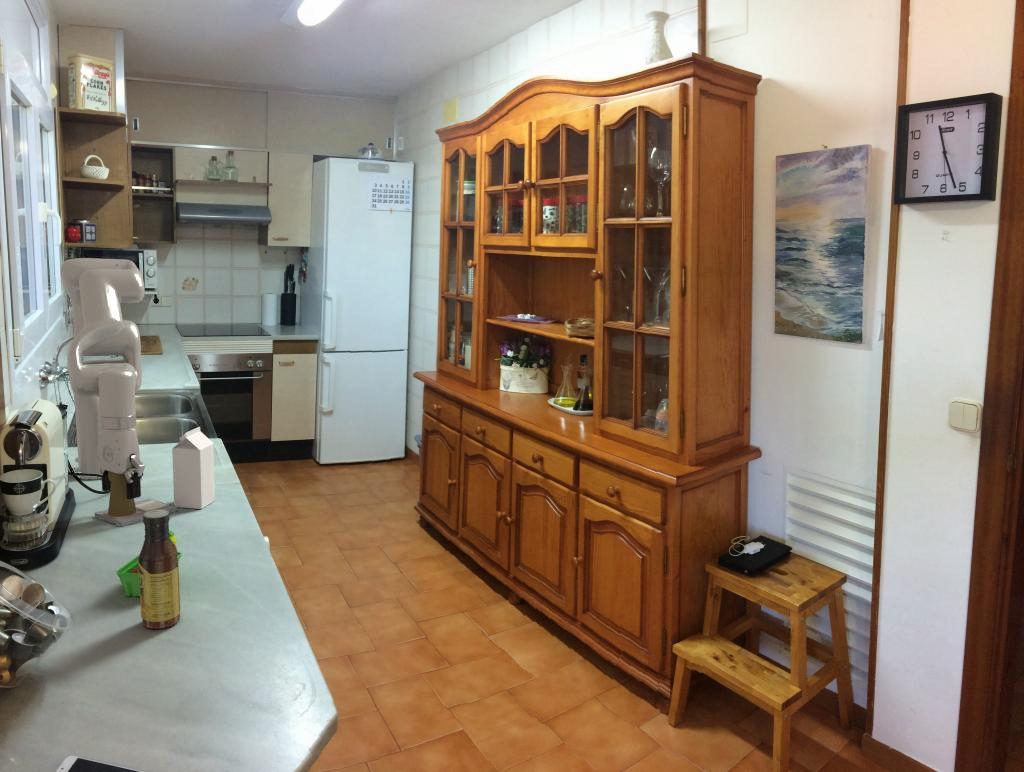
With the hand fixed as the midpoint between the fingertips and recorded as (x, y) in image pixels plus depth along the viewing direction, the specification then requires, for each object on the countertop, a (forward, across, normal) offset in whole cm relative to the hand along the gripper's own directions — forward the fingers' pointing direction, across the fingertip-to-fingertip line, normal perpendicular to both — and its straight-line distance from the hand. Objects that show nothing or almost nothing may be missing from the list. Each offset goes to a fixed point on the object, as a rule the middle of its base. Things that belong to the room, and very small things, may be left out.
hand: (121, 493), depth 187 cm
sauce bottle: (+6, +54, -26) cm, 60 cm away
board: (+6, 0, +4) cm, 7 cm away
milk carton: (+6, +4, +16) cm, 18 cm away
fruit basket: (+6, +40, -18) cm, 44 cm away
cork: (+5, 0, 0) cm, 5 cm away
